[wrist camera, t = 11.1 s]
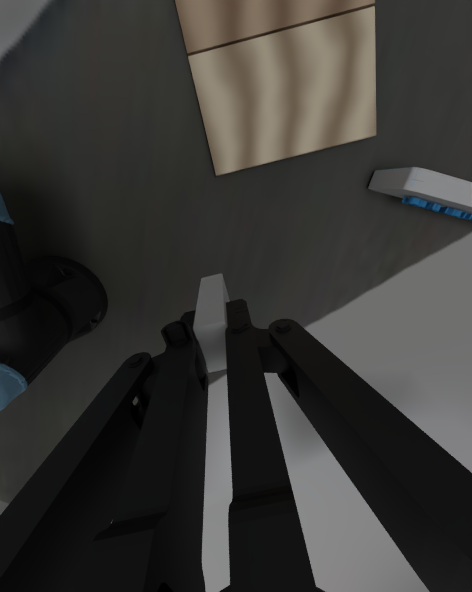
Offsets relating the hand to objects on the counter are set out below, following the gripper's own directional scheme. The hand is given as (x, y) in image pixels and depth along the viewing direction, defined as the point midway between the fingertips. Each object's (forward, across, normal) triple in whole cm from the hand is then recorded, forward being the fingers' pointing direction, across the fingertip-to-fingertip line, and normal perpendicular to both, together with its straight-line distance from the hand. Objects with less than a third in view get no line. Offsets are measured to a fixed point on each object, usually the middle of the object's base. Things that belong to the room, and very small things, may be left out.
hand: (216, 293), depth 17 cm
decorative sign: (+27, +40, -5) cm, 49 cm away
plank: (+26, +14, +15) cm, 33 cm away
